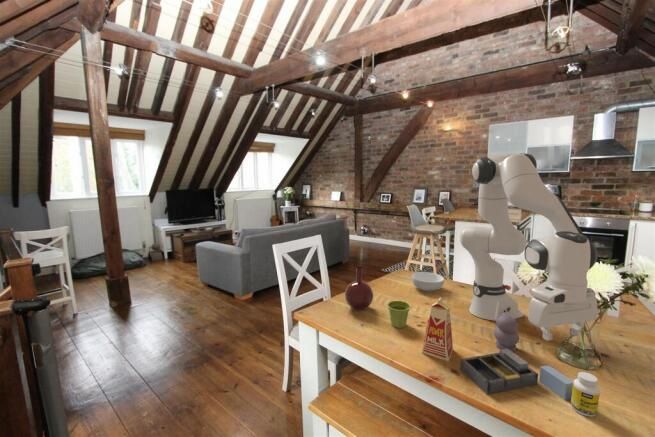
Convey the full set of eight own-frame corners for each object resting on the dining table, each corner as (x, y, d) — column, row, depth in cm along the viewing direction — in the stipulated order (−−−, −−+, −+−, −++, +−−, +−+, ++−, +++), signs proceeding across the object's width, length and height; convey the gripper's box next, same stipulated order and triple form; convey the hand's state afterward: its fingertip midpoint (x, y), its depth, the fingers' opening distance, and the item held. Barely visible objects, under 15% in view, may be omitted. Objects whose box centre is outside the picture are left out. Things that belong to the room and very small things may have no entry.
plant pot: (410, 331, 124) (411, 310, 123) (386, 329, 126) (387, 309, 125) (409, 320, 133) (409, 301, 132) (387, 318, 135) (387, 299, 134)
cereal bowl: (439, 297, 157) (439, 284, 156) (407, 291, 166) (407, 278, 165) (446, 287, 171) (447, 274, 170) (416, 281, 180) (417, 270, 179)
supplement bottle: (577, 416, 80) (581, 381, 79) (566, 401, 85) (570, 368, 84) (601, 419, 79) (606, 384, 78) (588, 403, 84) (592, 371, 83)
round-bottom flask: (341, 304, 150) (341, 265, 147) (366, 301, 153) (366, 262, 150) (350, 316, 137) (350, 273, 134) (377, 312, 141) (378, 270, 138)
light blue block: (547, 380, 94) (548, 365, 93) (573, 398, 86) (574, 382, 86) (539, 381, 94) (540, 366, 93) (564, 400, 86) (566, 384, 85)
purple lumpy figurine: (488, 341, 116) (490, 311, 114) (508, 340, 116) (510, 310, 115) (502, 354, 107) (504, 322, 106) (523, 353, 108) (526, 321, 106)
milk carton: (448, 361, 104) (451, 305, 101) (421, 353, 109) (422, 299, 106) (453, 348, 112) (456, 295, 109) (427, 341, 116) (429, 290, 114)
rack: (460, 368, 100) (461, 351, 99) (505, 361, 104) (507, 344, 103) (486, 394, 88) (488, 375, 87) (537, 384, 92) (538, 366, 91)
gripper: (583, 283, 91) (578, 327, 93) (526, 289, 86) (522, 335, 88) (607, 291, 85) (601, 338, 87) (546, 298, 80) (541, 347, 82)
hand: (560, 337), depth 87 cm, fingers open, 8 cm apart
